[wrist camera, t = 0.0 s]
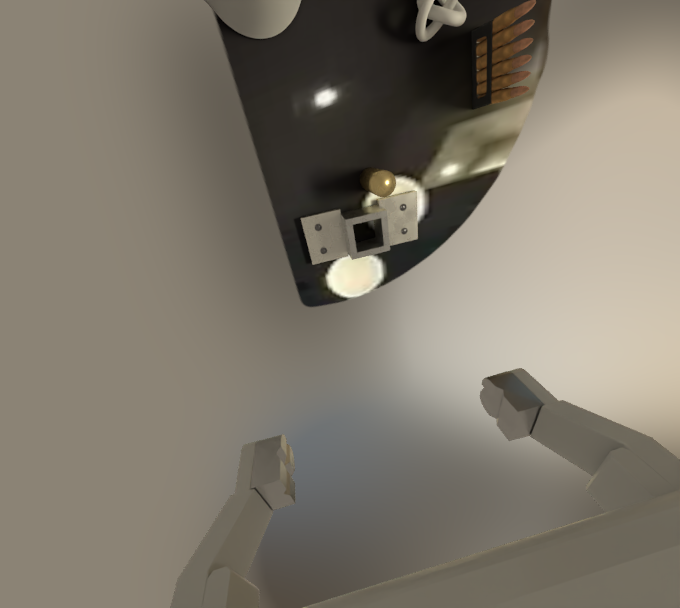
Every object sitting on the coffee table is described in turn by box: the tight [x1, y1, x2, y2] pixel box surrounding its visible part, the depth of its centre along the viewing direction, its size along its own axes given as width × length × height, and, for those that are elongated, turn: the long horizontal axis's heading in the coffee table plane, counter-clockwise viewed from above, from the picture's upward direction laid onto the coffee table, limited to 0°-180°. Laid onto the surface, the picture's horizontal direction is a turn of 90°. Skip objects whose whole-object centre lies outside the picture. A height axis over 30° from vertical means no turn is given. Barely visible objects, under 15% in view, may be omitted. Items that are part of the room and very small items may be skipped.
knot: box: [415, 0, 466, 42], centre depth 38 cm, size 8×8×6 cm
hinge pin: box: [360, 168, 396, 197], centre depth 47 cm, size 4×4×9 cm
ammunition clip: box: [471, 0, 536, 109], centre depth 40 cm, size 11×2×12 cm, turn 17°
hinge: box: [300, 191, 418, 264], centre depth 53 cm, size 10×24×6 cm, turn 101°
